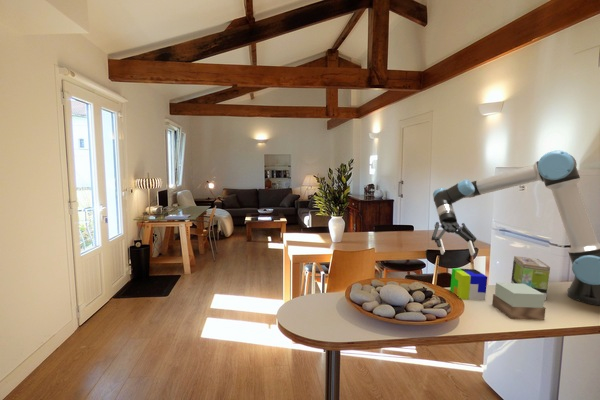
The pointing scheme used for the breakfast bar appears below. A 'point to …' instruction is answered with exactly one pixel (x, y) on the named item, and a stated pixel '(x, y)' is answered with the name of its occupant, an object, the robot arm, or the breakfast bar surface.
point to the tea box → (531, 273)
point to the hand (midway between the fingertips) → (458, 253)
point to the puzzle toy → (468, 284)
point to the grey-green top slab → (519, 295)
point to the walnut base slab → (518, 310)
